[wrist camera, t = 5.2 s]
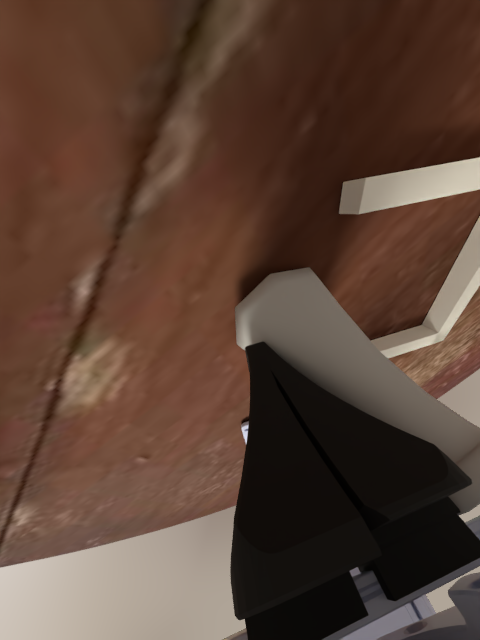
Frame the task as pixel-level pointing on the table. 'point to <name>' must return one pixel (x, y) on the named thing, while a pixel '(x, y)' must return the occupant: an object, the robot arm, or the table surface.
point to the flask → (352, 366)
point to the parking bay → (468, 270)
